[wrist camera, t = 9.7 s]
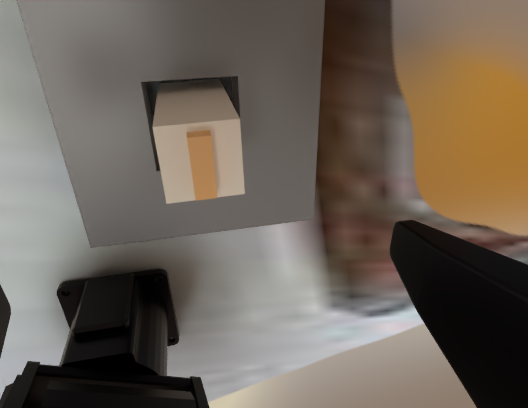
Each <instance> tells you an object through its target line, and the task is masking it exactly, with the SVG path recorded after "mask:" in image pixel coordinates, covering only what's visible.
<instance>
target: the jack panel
mask: <svg viewBox="0 0 528 408" xmlns="http://www.w3.org/2000/svg"><path fill="white" fill-rule="evenodd" d="M17 4H18V7H19V10H20V14H21V17H22V20H23V24H24V27H25V30H26V34H27V37H28V40H29V44H30V47H31V50H32V54H33V57H34V60H35V64H36V67H37V70H38V74H39V77H40V80H41V83H42V87H43V90H44V93H45V97H46V100H47V103H48V107H49V110H50V113H51V117H52V120H53V123H54V127H55V130H56V133H57V137H58V140H59V143H60V147H61V150H62V153H63V157H64V160H65V163H66V167H67V170H68V173H69V177H70V180H71V183H72V187H73V190H74V193H75V197H76V200H77V203H78V207H79V210H80V213H81V217H82V220H83V223H84V227H85V230H86V233H87V237H88V240H89V243H90V246H91V248H94V247H102V246H110V245H118V244H125V243H133V242H141V241H149V240H156V239H164V238H172V237H180V236H187V235H195V234H203V233H211V232H218V231H226V230H234V229H242V228H249V227H257V226H265V225H273V224H280V223H288V222H296V221H304V220H311V219H314V201H315V182H316V164H317V145H318V126H319V107H320V88H321V69H322V50H323V31H324V12H325V0H17ZM229 76H231V77H232V94H233V106H234V108H235V110H236V112H237V114H238V116H239V118H240V127H241V143H242V158H243V173H244V188H245V194H241V195H233V196H225V197H218V198H213V199H206V200H198V201H196V200H193V201H185V202H178V203H170V204H166V198H165V193H164V187H163V182H162V177H161V171H160V166H159V160H158V155H157V149H156V144H155V139H154V133H153V128H152V126H153V118H152V112H151V106H150V100H149V94H148V88H147V81H164V80H180V79H196V78H212V77H229Z"/></svg>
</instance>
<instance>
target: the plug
mask: <svg viewBox="0 0 528 408" xmlns="http://www.w3.org/2000/svg"><path fill="white" fill-rule="evenodd" d="M152 128H153V133H154V139H155V144H156V149H157V155H158V160H159V166H160V171H161V177H162V182H163V187H164V193H165V198H166V204H170V203H178V202H185V201H193V200H196V201H198V200H206V199H213V198H218V197H225V196H233V195H241V194H245V188H244V173H243V158H242V143H241V127H240V118H239V116H238V114H237V112H236V110H235V108H234V106H233V104H232V102H231V101H230V99H229V97H228V95H227V93H226V91H225V89H224V87H223V85H222V83H221V81H220V79H211V80H198V81H185V82H172V83H159V86H158V93H157V99H156V106H155V113H154V120H153V126H152Z"/></svg>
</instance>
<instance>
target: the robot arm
mask: <svg viewBox="0 0 528 408" xmlns="http://www.w3.org/2000/svg"><path fill="white" fill-rule="evenodd" d="M390 256H391V259H392V261H393V263H394V265H395V267H396V270H397V272H398V274H399V276H400V278H401V280H402V282H403V284H404V286H405V288H406V290H407V292H408V294H409V297H410V299H411V301H412V303H413V305H414V306H415V308H416V310H417V312H418V314H419V315H420V317H421V319H422V320H423V322H424V323H425V325H426V327H427V328H428V330H429V331H430V333H431V335H432V336H433V338H434V339H435V341H436V343H437V344H438V346H439V348H440V349H441V351H442V352H443V354H444V356H445V357H446V359H447V360H448V362H449V363H450V365H451V367H452V368H453V370H454V372H455V373H456V375H457V376H458V378H459V380H460V381H461V382H462V384H463V386H464V388H465V389H466V391H467V392H468V394H469V396H470V397H471V399H472V400H473V402H474V404H475V405H476V407H477V408H528V265H527V264H524V263H522V262H519V261H517V260H514V259H512V258H509V257H507V256H504V255H501V254H499V253H496V252H494V251H491V250H489V249H486V248H483V247H481V246H478V245H476V244H473V243H471V242H468V241H466V240H463V239H460V238H458V237H455V236H453V235H450V234H448V233H445V232H443V231H440V230H437V229H435V228H432V227H430V226H427V225H425V224H422V223H420V222H417V221H414V220H405V221H398V222H396V223H395V225H394V227H393V233H392V238H391V244H390ZM158 276H161V277H163V278H160V279H159V278H156V277H158ZM64 290H68V291H70V292H65V291H64ZM57 296H58V299H59V301H60V304H61V306H62V309H63V312H64V314H65V317H66V320H67V322H68V325H69V327H70V332H69V335H68V339H67V342H66V345H65V348H64V352H63V355H62V358H61V362H60V365H59V366H52V365H41V364H40V362H32V361H28V362H27V364H26V366H25V368H24V371H23V373H22V375H17V377H16V379H15V381H14V383H12V384H10V385H8V386H6V387H5V390H4V392H3V394H2V397H1V399H0V408H209V405H208V402H207V398H206V395H205V391H204V388H203V384H202V381H201V378H200V377H192V376H191V377H190V378H183V377H172V376H167V346H171V345H175V344H177V343H178V341H179V332H178V327H177V322H176V316H175V311H174V305H173V300H172V295H171V289H170V284H169V279H168V274H167V272H166V271H165V270H162V269H156V270H149V271H142V272H135V273H127V274H120V275H113V276H106V277H99V278H92V279H86V280H79V281H72V282H65V283H62V284H60V285H59V287H58V290H57ZM10 315H11V308H10V304H9V302H8V300H7V298H6V296H5V293H4V291H3V289H2V287H1V285H0V357H1V353H2V349H3V345H4V340H5V336H6V332H7V328H8V324H9V320H10Z"/></svg>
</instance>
